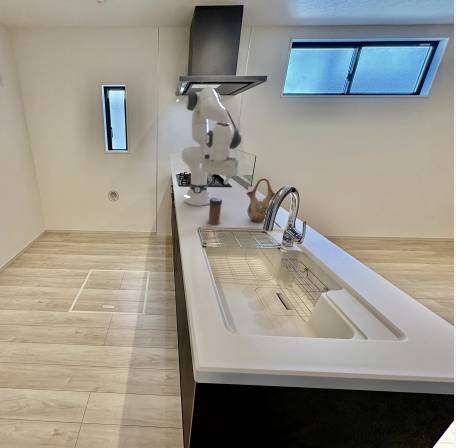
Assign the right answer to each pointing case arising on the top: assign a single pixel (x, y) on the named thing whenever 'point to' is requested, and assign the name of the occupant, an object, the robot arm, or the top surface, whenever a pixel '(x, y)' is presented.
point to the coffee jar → (214, 214)
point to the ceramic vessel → (259, 203)
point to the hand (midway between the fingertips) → (217, 182)
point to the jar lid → (215, 201)
